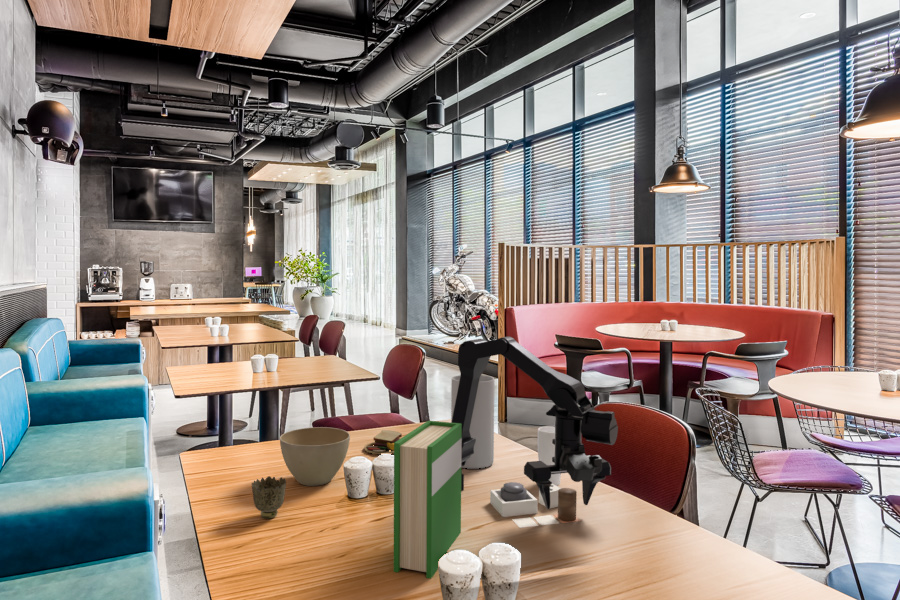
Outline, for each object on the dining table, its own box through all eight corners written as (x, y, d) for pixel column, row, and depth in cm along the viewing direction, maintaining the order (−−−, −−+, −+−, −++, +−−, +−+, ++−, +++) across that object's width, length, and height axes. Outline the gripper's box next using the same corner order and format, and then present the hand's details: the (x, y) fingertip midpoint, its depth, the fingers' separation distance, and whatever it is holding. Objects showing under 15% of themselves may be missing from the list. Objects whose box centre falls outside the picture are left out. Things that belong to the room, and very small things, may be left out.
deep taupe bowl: (299, 499, 141) (299, 449, 140) (268, 479, 154) (268, 434, 154) (362, 482, 153) (362, 436, 152) (328, 465, 166) (328, 423, 166)
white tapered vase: (562, 491, 147) (563, 433, 146) (536, 489, 148) (536, 431, 148) (563, 482, 153) (564, 426, 153) (537, 480, 155) (538, 425, 154)
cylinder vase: (501, 461, 171) (501, 377, 170) (480, 472, 161) (481, 383, 160) (464, 453, 178) (465, 373, 177) (442, 464, 167) (443, 379, 166)
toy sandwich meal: (355, 452, 180) (355, 437, 179) (382, 442, 191) (382, 427, 191) (387, 459, 173) (387, 443, 173) (413, 448, 184) (413, 433, 184)
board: (513, 535, 121) (514, 517, 121) (488, 506, 137) (488, 490, 137) (590, 526, 126) (591, 508, 126) (558, 499, 142) (558, 483, 142)
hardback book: (431, 578, 104) (432, 446, 103) (393, 571, 106) (394, 442, 105) (460, 537, 121) (461, 423, 120) (427, 532, 123) (428, 420, 122)
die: (549, 509, 134) (550, 491, 134) (538, 503, 137) (539, 486, 137) (563, 505, 136) (563, 488, 136) (551, 500, 139) (552, 483, 139)
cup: (292, 512, 133) (292, 478, 132) (273, 525, 126) (272, 489, 125) (265, 508, 135) (265, 474, 135) (244, 520, 128) (244, 484, 128)
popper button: (505, 513, 130) (506, 491, 130) (496, 503, 136) (496, 482, 136) (530, 510, 132) (530, 489, 132) (520, 500, 138) (520, 480, 137)
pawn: (562, 522, 126) (563, 495, 126) (554, 515, 130) (555, 488, 130) (579, 520, 127) (579, 493, 127) (570, 513, 131) (571, 487, 131)
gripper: (544, 450, 118) (543, 526, 118) (625, 444, 123) (624, 517, 123) (523, 436, 128) (522, 505, 129) (598, 431, 133) (597, 497, 134)
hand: (566, 506), depth 128 cm, fingers open, 9 cm apart
